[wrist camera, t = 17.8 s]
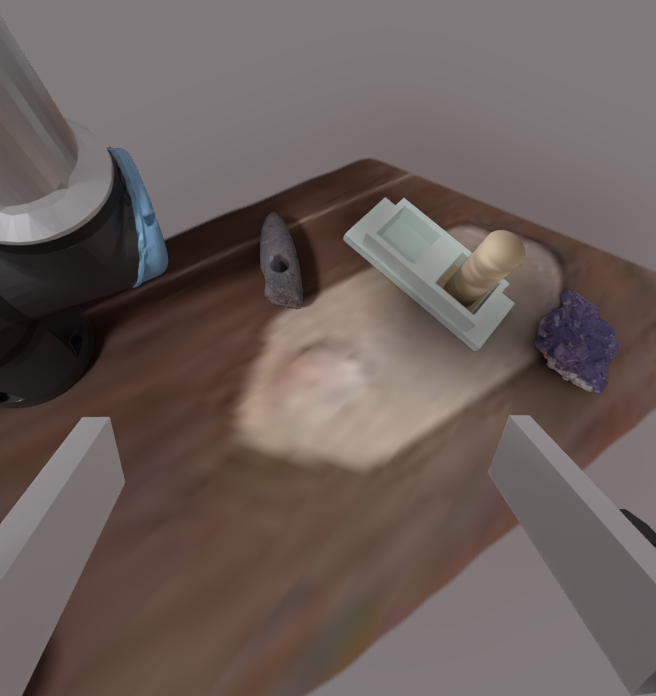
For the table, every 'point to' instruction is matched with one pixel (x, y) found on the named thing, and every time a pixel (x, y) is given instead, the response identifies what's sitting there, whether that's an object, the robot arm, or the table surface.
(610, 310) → the table surface
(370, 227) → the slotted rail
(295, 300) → the perforated stone tool
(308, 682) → the table surface
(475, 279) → the birch peg
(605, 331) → the mineral specimen
